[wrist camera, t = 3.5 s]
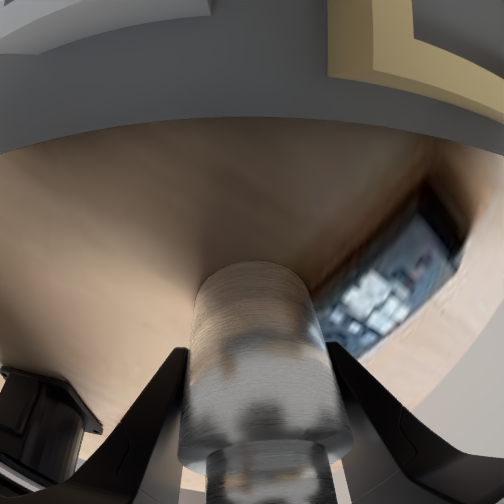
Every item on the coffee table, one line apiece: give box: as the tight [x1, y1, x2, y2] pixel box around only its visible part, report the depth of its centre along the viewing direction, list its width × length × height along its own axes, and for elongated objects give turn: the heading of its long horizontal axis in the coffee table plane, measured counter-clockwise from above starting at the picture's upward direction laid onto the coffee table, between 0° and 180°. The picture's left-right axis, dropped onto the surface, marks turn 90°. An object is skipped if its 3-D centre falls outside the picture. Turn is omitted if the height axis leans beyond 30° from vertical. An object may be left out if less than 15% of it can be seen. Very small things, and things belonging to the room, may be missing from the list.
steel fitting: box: [177, 261, 354, 504], centre depth 8 cm, size 4×4×8 cm
